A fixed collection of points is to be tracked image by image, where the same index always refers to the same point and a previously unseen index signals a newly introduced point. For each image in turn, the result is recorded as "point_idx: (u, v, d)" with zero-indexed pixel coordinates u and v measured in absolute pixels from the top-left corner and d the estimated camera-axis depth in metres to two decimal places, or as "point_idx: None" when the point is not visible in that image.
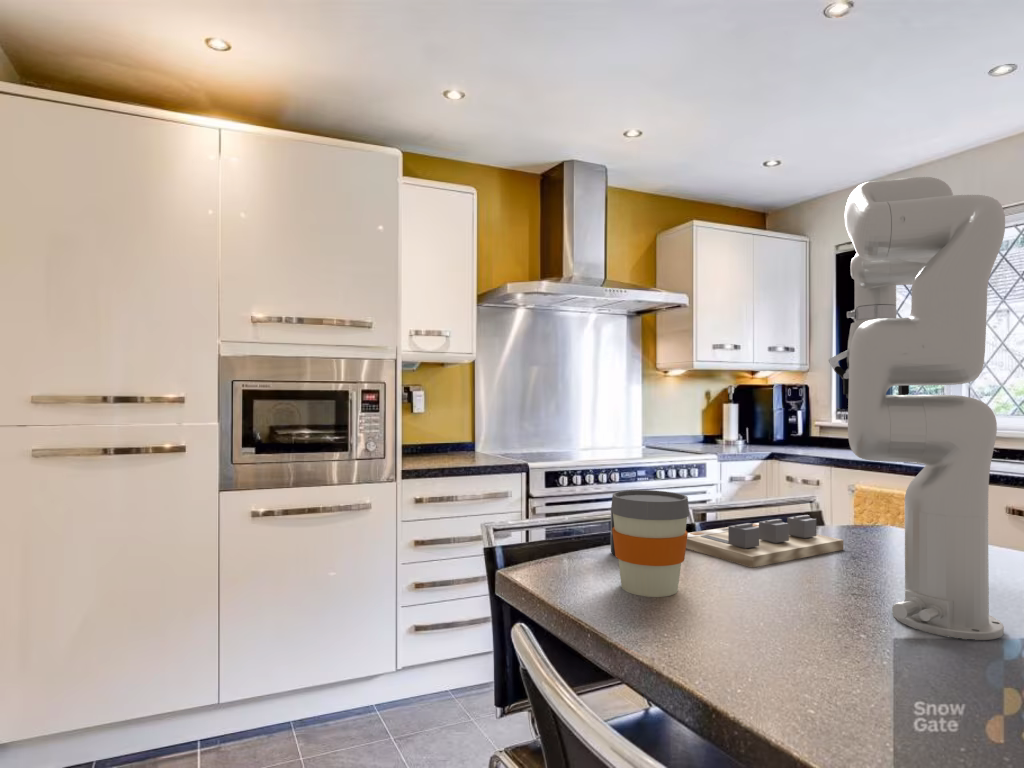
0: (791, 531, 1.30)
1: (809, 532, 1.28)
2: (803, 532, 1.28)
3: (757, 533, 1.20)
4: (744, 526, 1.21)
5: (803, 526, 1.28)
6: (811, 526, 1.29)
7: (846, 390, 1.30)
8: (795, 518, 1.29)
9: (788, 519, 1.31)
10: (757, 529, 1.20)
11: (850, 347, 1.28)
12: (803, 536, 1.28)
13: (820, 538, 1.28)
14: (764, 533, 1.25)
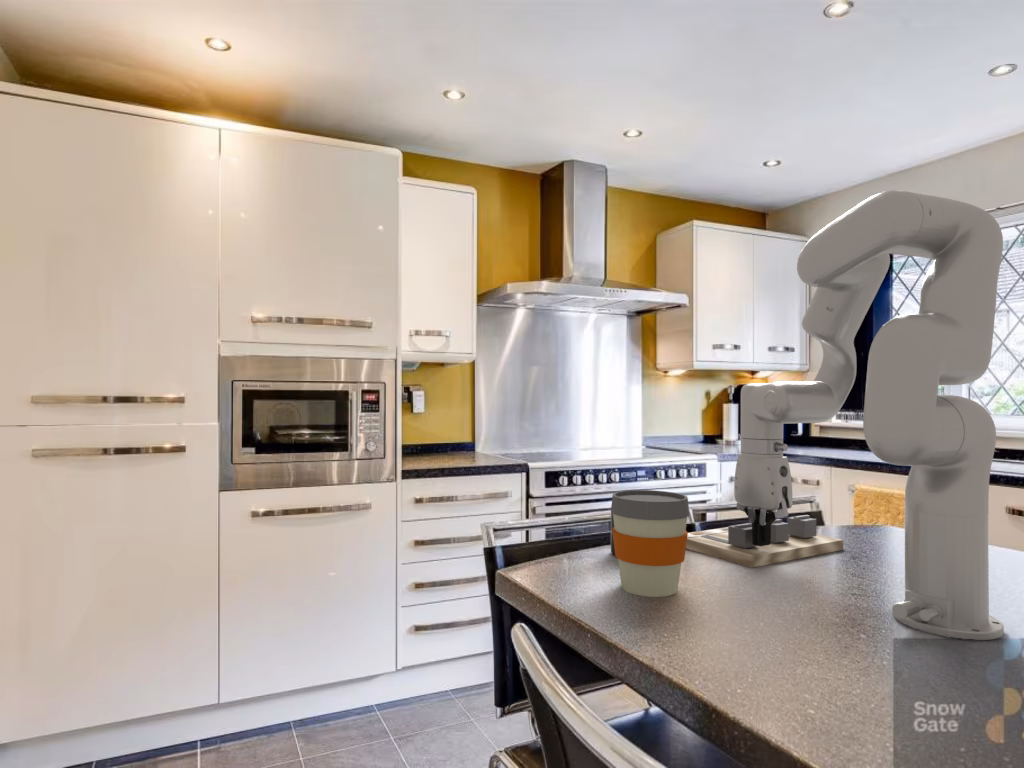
0: (791, 531, 1.30)
1: (809, 532, 1.28)
2: (803, 532, 1.28)
3: None
4: (744, 526, 1.21)
5: (803, 526, 1.28)
6: (811, 526, 1.29)
7: None
8: (795, 518, 1.29)
9: (788, 519, 1.31)
10: None
11: (791, 485, 1.15)
12: (803, 536, 1.28)
13: (820, 538, 1.28)
14: None
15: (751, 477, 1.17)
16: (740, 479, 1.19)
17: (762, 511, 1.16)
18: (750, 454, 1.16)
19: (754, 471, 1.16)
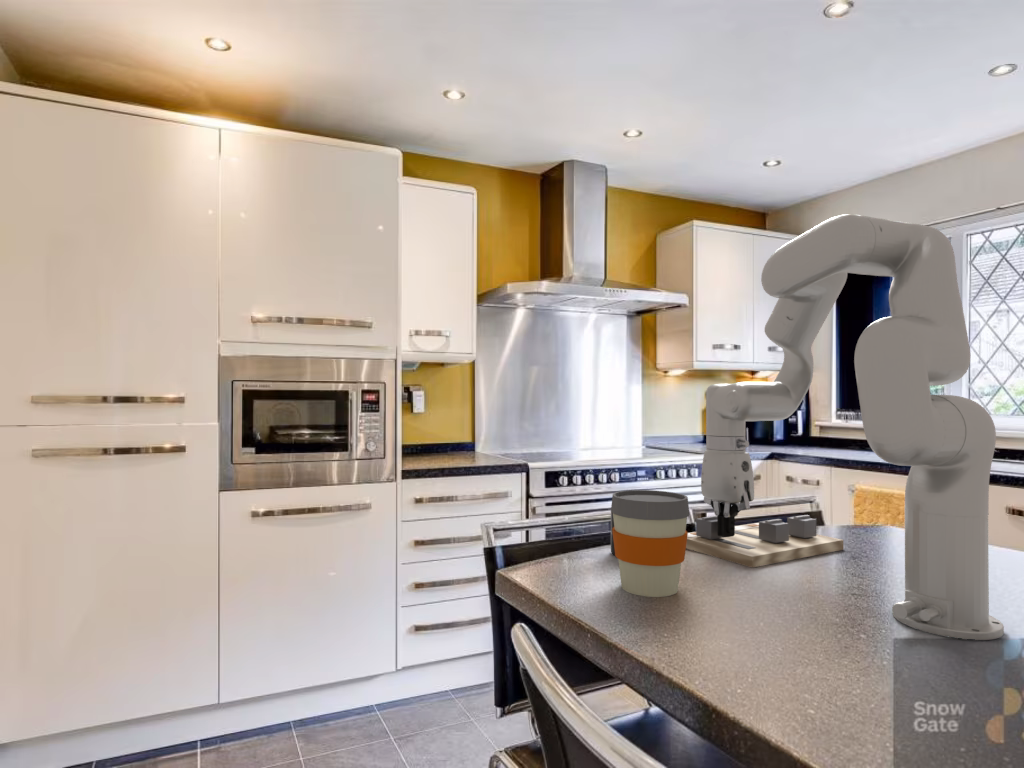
0: (791, 531, 1.30)
1: (809, 532, 1.28)
2: (803, 532, 1.28)
3: None
4: (711, 518, 1.28)
5: (803, 526, 1.28)
6: (811, 526, 1.29)
7: None
8: (795, 518, 1.29)
9: (788, 519, 1.31)
10: None
11: (753, 479, 1.22)
12: (803, 536, 1.28)
13: (820, 538, 1.28)
14: (764, 533, 1.25)
15: (715, 472, 1.24)
16: (706, 474, 1.27)
17: (726, 504, 1.23)
18: (714, 450, 1.23)
19: (718, 466, 1.24)
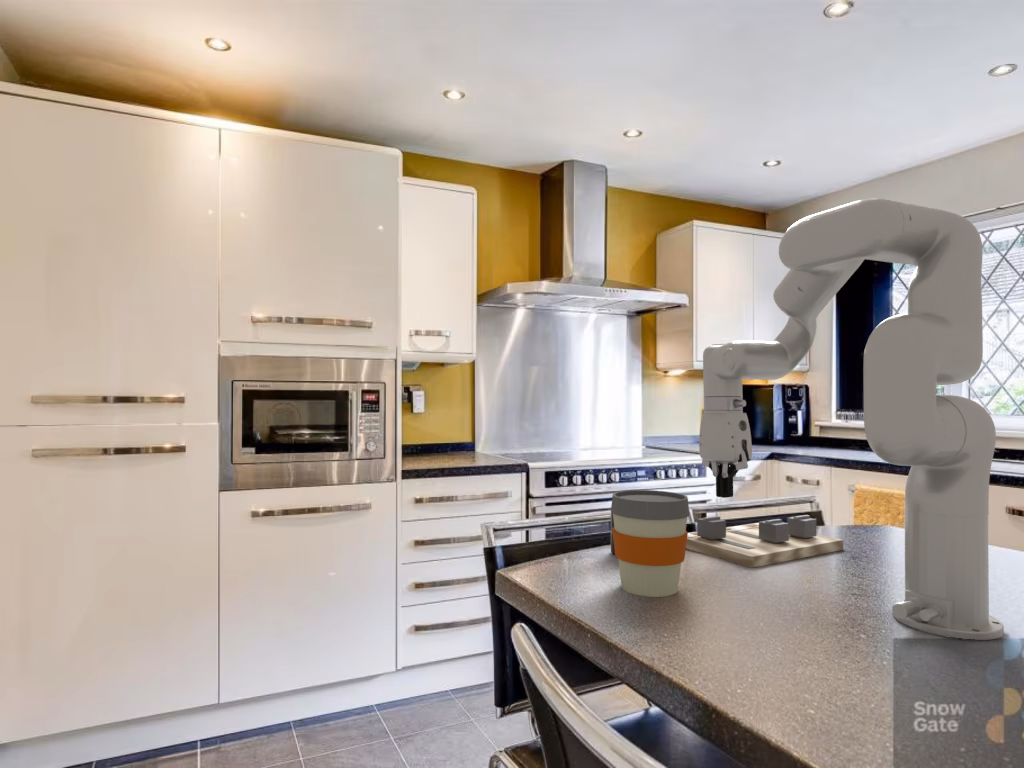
0: (791, 531, 1.30)
1: (809, 532, 1.28)
2: (803, 532, 1.28)
3: (724, 525, 1.27)
4: (712, 519, 1.28)
5: (803, 526, 1.28)
6: (811, 526, 1.29)
7: None
8: (795, 518, 1.29)
9: (788, 519, 1.31)
10: (724, 522, 1.27)
11: (750, 439, 1.23)
12: (803, 536, 1.28)
13: (820, 538, 1.28)
14: (764, 533, 1.25)
15: (713, 433, 1.25)
16: (704, 436, 1.27)
17: (724, 464, 1.24)
18: (712, 411, 1.24)
19: (716, 427, 1.24)
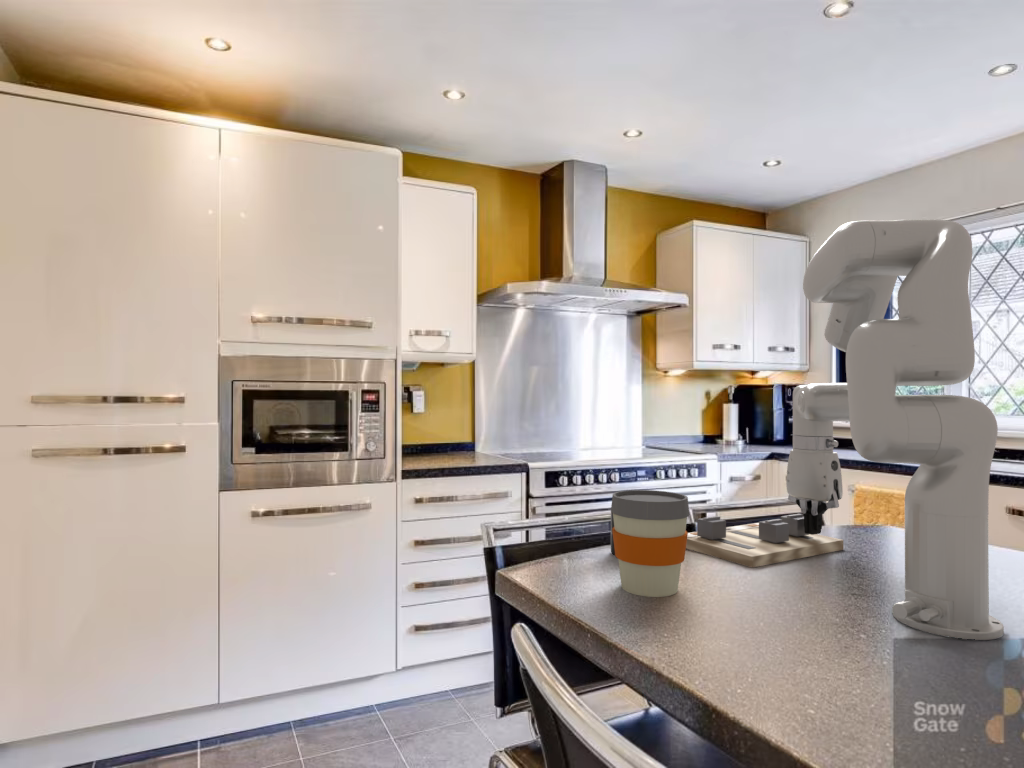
0: None
1: (802, 530, 1.30)
2: (796, 531, 1.29)
3: (724, 525, 1.27)
4: (712, 519, 1.28)
5: (796, 525, 1.29)
6: None
7: None
8: (788, 517, 1.31)
9: (781, 518, 1.32)
10: (724, 522, 1.27)
11: (841, 478, 1.25)
12: (796, 534, 1.29)
13: (820, 538, 1.28)
14: (764, 533, 1.25)
15: (803, 471, 1.27)
16: (792, 473, 1.30)
17: (814, 502, 1.26)
18: (803, 450, 1.26)
19: (806, 465, 1.27)
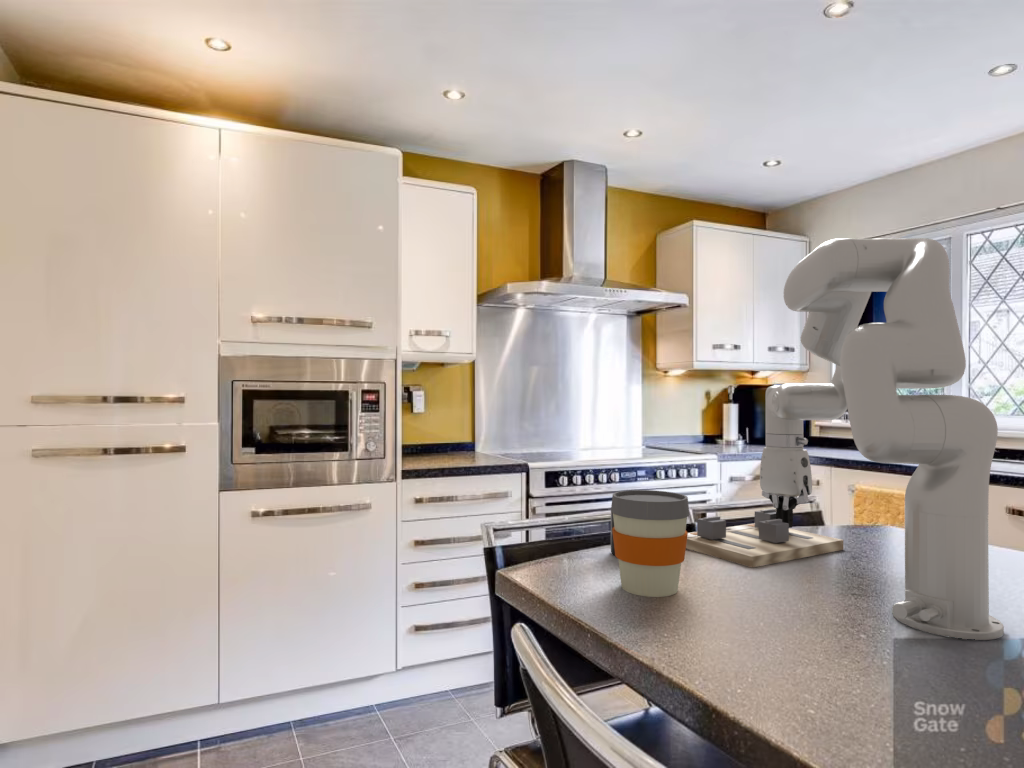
0: (758, 524, 1.37)
1: None
2: None
3: (724, 525, 1.27)
4: (712, 519, 1.28)
5: (769, 519, 1.35)
6: None
7: None
8: (762, 511, 1.36)
9: (755, 512, 1.38)
10: (724, 522, 1.27)
11: None
12: None
13: (820, 538, 1.28)
14: (764, 533, 1.25)
15: (775, 468, 1.33)
16: (765, 470, 1.35)
17: (785, 498, 1.32)
18: (774, 447, 1.32)
19: (778, 462, 1.32)
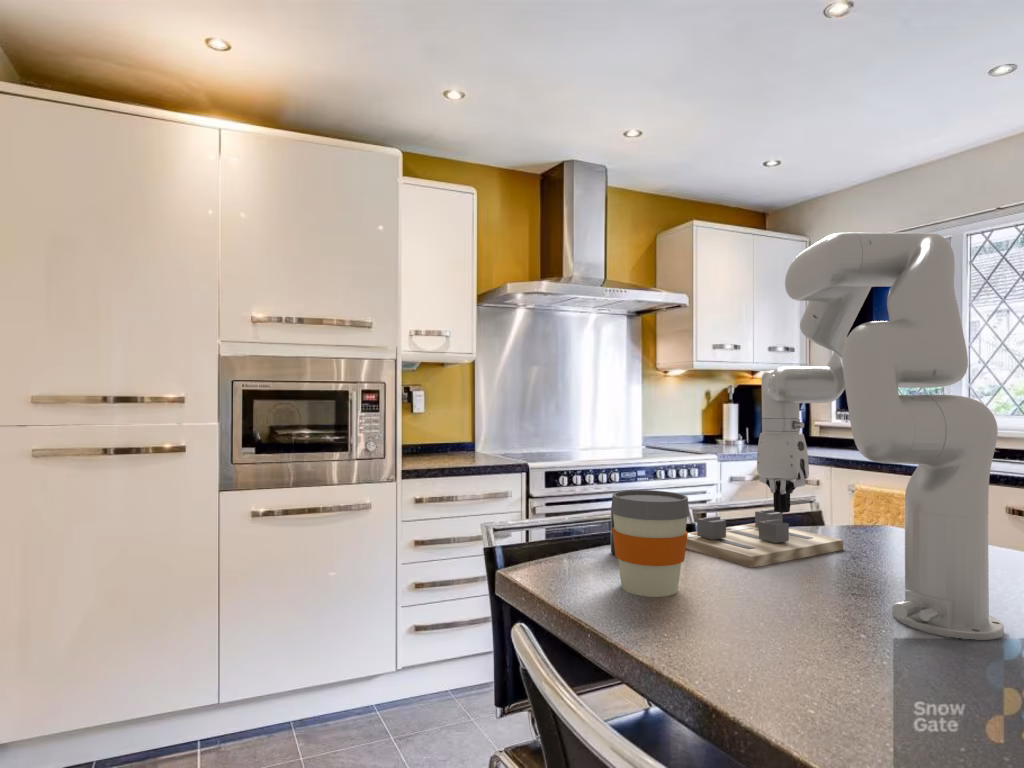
0: (758, 524, 1.37)
1: None
2: None
3: (724, 525, 1.27)
4: (712, 519, 1.28)
5: (769, 519, 1.35)
6: None
7: None
8: (762, 512, 1.36)
9: (756, 513, 1.38)
10: (724, 522, 1.27)
11: (807, 458, 1.31)
12: None
13: (820, 538, 1.28)
14: (764, 533, 1.25)
15: (772, 452, 1.34)
16: (762, 455, 1.36)
17: (783, 482, 1.32)
18: (771, 431, 1.33)
19: (775, 447, 1.33)
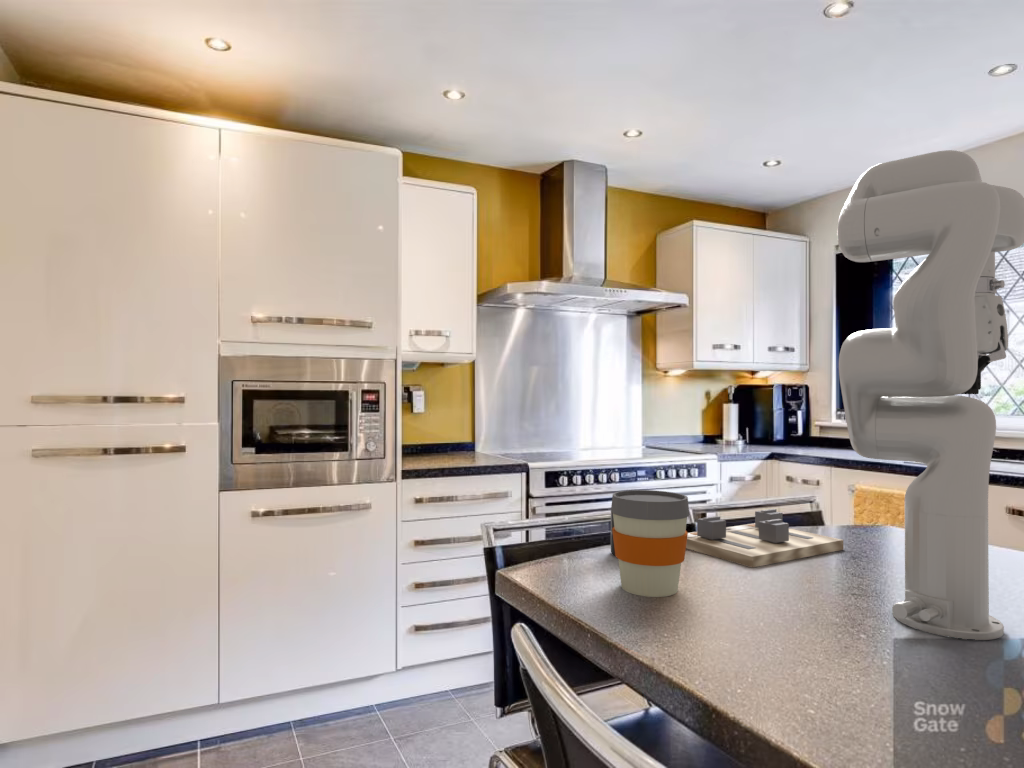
0: (758, 524, 1.37)
1: None
2: None
3: (724, 525, 1.27)
4: (712, 519, 1.28)
5: (769, 519, 1.35)
6: None
7: None
8: (762, 512, 1.36)
9: (756, 513, 1.38)
10: (724, 522, 1.27)
11: None
12: None
13: (820, 538, 1.28)
14: (764, 533, 1.25)
15: None
16: None
17: None
18: None
19: None
